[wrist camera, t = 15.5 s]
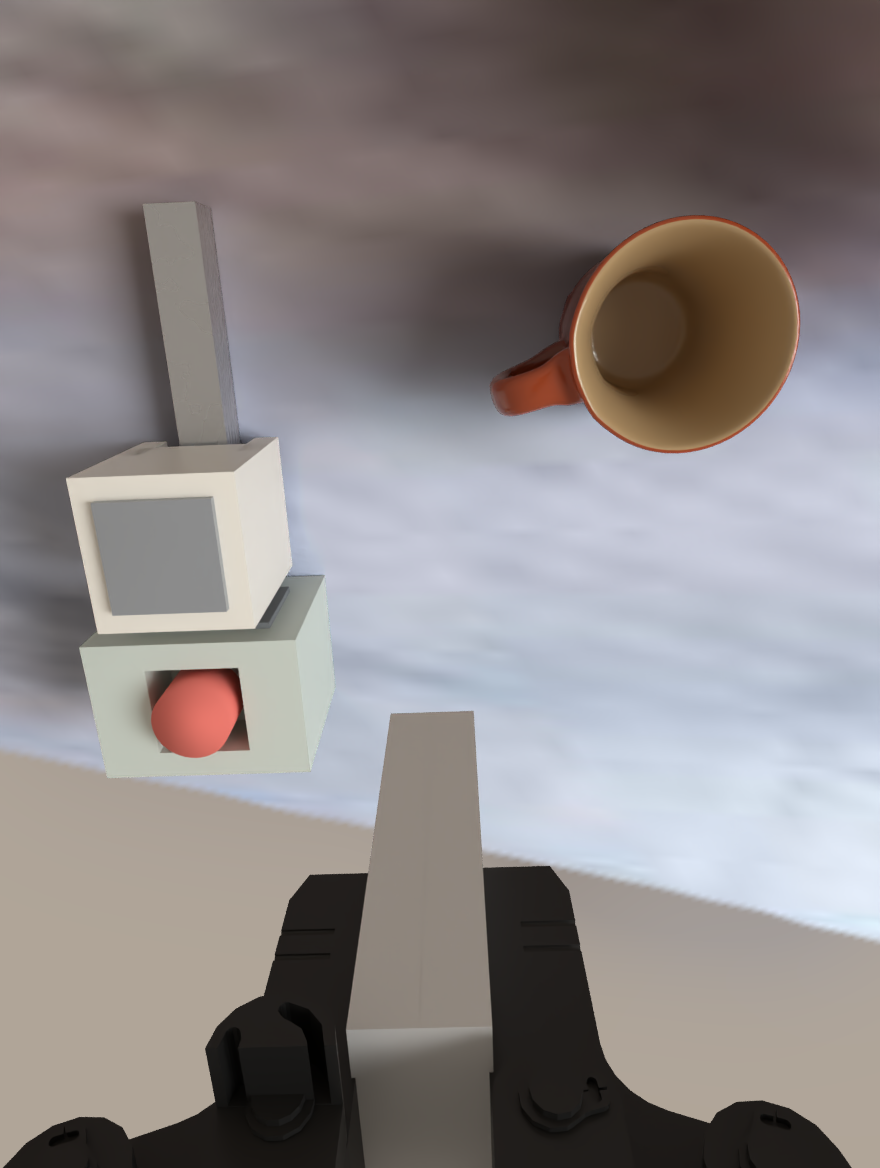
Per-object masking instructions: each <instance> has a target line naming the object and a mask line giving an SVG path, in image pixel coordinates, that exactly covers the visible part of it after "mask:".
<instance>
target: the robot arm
mask: <svg viewBox="0 0 880 1168" xmlns="http://www.w3.org/2000/svg"><path fill="white" fill-rule="evenodd" d="M281 931H282V932H281V936H280V937H279V941H278V945H277V948H276V952H275V961H273V963H272V967H271V971H270V975H269V978H268V982H267V986H266V990H265V993H264V996H262V997H258V998H256V999H254V1000H252V1001H250V1002H248V1003H246V1004H244V1005H242V1006H240V1007H238V1008H236V1009H235V1010H234V1011H233V1012H232V1013H231V1014H230V1015H229V1016H228V1017H227V1018H226V1019H225V1020H223V1021H222V1022H221V1023H220V1024H219V1025H218V1026H217V1028H216V1029H215V1031H214V1033H213V1035H212V1037H211V1039H210V1041H209V1042H208V1044H207V1046H206V1048H205V1050H206V1055H207V1060H208V1066H209V1071H210V1076H211V1081H212V1086H213V1091H214V1096H215V1103H213V1104H212V1105H210V1106H209V1107H207V1108H206V1109H204V1110H203V1111H201V1112H200V1113H199V1114H197V1115H195V1116H193V1117H190V1118H188V1119H186V1120H184V1121H181V1122H179V1123H177V1124H174V1125H171V1126H168V1127H165V1128H162V1129H159V1130H156V1131H153V1132H150V1133H147V1134H144V1135H141V1136H138V1137H135V1138H132V1139H128V1137H127V1135H126V1133H125V1131H124V1130H123V1128H122V1127H121V1126H119V1125H117V1124H115V1123H113V1122H111V1121H110V1120H108V1119H106V1118H101V1117H78V1118H75V1119H73V1120H69V1121H66V1122H63V1123H60V1124H57V1125H54V1126H52V1127H50V1128H49V1129H47V1130H46V1131H44V1132H43V1133H42V1134H40V1135H38V1136H37V1137H35V1138H34V1139H32V1140H30V1141H29V1142H27V1143H26V1144H25V1145H24V1146H23V1147H22V1148H21V1149H20V1150H19V1151H18V1152H17V1154H16V1155H15V1156H14V1157H13V1158H12V1159H11V1160H10V1161H9V1162H8V1163H7V1164H6V1165H5V1166H4V1167H3V1168H851V1166H850V1165H849V1163H848V1162H847V1161H846V1159H845V1158H844V1156H843V1155H842V1154H841V1152H840V1151H839V1149H838V1148H837V1147H836V1146H835V1145H834V1144H833V1143H832V1142H831V1141H830V1140H829V1138H828V1137H827V1136H826V1135H825V1134H824V1133H823V1132H822V1131H821V1130H820V1129H819V1128H818V1127H817V1126H816V1125H815V1124H813V1123H812V1122H810V1121H809V1120H807V1119H805V1118H804V1117H802V1116H801V1115H799V1114H798V1113H796V1112H794V1111H793V1110H791V1109H789V1108H786V1107H782V1106H779V1105H775V1104H772V1103H769V1102H765V1101H747V1102H746V1101H745V1102H736V1103H734V1104H732V1105H730V1106H728V1107H727V1108H725V1109H723V1110H721V1111H719V1112H717V1113H716V1115H715V1117H714V1118H713V1120H712V1121H711V1123H707V1122H704V1121H700V1120H697V1119H694V1118H691V1117H687V1116H684V1115H681V1114H677V1113H674V1112H671V1111H668V1110H665V1109H663V1108H660V1107H658V1106H656V1105H653V1104H651V1103H648V1102H647V1101H645V1100H644V1099H642V1098H641V1097H639V1096H638V1095H636V1094H634V1093H633V1092H632V1091H630V1090H629V1089H628V1088H627V1087H626V1086H625V1085H624V1084H623V1083H622V1082H621V1081H620V1080H619V1079H618V1078H617V1077H616V1075H615V1074H614V1072H613V1071H612V1069H611V1067H610V1066H609V1064H608V1063H607V1061H606V1059H605V1057H604V1054H603V1051H602V1048H601V1045H600V1041H599V1036H598V1031H597V1026H596V1021H595V1017H594V1011H593V1007H592V1001H591V996H590V991H589V987H588V982H587V977H586V972H585V968H584V962H583V957H582V952H581V951H580V942H579V937H578V933H577V928H576V926H575V918H574V913H573V908H572V903H571V898H570V893H569V890H568V889H567V887H566V886H565V885H564V884H563V882H562V881H561V880H560V879H559V877H558V876H557V875H556V873H555V872H554V871H553V870H552V868H551V867H550V866H532V867H496V868H483V864H482V846H481V829H480V812H479V796H478V779H477V762H476V745H475V728H474V711H460V712H428V713H397V714H391V716H390V723H389V730H388V737H387V744H386V751H385V758H384V765H383V772H382V779H381V786H380V793H379V801H378V808H377V815H376V822H375V829H374V836H373V843H372V850H371V858H370V864H369V871H368V873H360V874H324V875H323V874H322V875H309V877H308V878H307V879H306V880H305V882H304V883H303V884H302V885H301V887H300V888H299V889H298V890H297V892H296V893H295V894H294V895H293V897H292V898H291V899H290V900H289V904H288V907H287V911H286V915H285V918H284V922H283V926H282V930H281Z"/></svg>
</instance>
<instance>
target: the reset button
mask: <svg viewBox="0 0 880 1168" xmlns="http://www.w3.org/2000/svg"><path fill="white" fill-rule="evenodd" d="M243 707H244V705H243V698H242V691H241V684H240V678H239V677H238V675H237V674H236V673H235V672H234V671H233V670H232V669H230V668H220V669H190V670H180V671H179V673H178V674H177V675H176V677H175V678H174V679H173V681H172V682H171V683H170V685H169V686H168V688H167V689H166V690H165V692H164V693H163V694H162V696H161V697H160V699H159V700H158V701H157V703H156V704H155V706H154V708H153V711H152V715H151V724H152V729H153V731H154V734H155V736H156V737H157V739H158V740H159V742H160V743H161V744H162V745H163V746H164V747H166V748H167V749H168V750H170V751H171V752H173V753H175V754H177V755H180V756H184V757H189V758H201V757H206V756H209V755H211V754H213V753H215V752H217V751H218V750H219V749H220V748H221V747H222V746H223V745H224V744H225V742H226V740H227V739H228V737H229V735H230V733H231V731H232V729H233V727H234V725H235V723H236V721H237V719H238V717H239V715H240V713H241V711H242V709H243Z"/></svg>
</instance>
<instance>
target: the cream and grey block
mask: <svg viewBox="0 0 880 1168" xmlns="http://www.w3.org/2000/svg"><path fill="white" fill-rule="evenodd" d="M66 482H67V486H68V491H69V496H70V501H71V506H72V511H73V516H74V520H75V525H76V530H77V535H78V540H79V545H80V550H81V554H82V559H83V564H84V569H85V574H86V579H87V584H88V588H89V593H90V598H91V603H92V608H93V613H94V618H95V622H96V627H97V632H98V634H117V633H146V632H174V631H203V630H232V629H255V628H256V626H257V624H258V623H259V621H260V619H261V618H262V616H263V614H264V613H265V611H266V609H267V607H268V606H269V604H270V602H271V601H272V599H273V597H274V596H275V594H276V592H277V591H278V589H279V587H280V586H281V584H282V582H283V580H284V579H285V577H286V575H287V574H288V572H289V570H290V569H291V567H292V558H291V549H290V540H289V531H288V522H287V513H286V504H285V495H284V486H283V477H282V468H281V459H280V450H279V441H278V437H262V438H254V439H253V440H251V441H250V442H248V443H247V444H228V445H204V446H179V447H168V446H167V441H165V442H143V443H141V444H139V445H137V446H135V447H133V448H130V449H128V450H126V451H124V452H122V453H120V454H117V455H115V456H113V457H111V458H109V459H107V460H104V461H102V462H100V463H98V464H96V465H94V466H92V467H89V468H87V469H85V470H83V471H81V472H79V473H76V474H74V475H72V476H70V477H68V478H66Z"/></svg>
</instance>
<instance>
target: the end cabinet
mask: <svg viewBox="0 0 880 1168" xmlns="http://www.w3.org/2000/svg"><path fill="white" fill-rule="evenodd" d="M79 649H80V654H81V659H82V663H83V668H84V672H85V677H86V682H87V686H88V691H89V696H90V700H91V705H92V709H93V714H94V719H95V723H96V728H97V733H98V737H99V742H100V746H101V751H102V756H103V760H104V765H105V770H106V774H107V778H124V777H157V776H190V775H223V774H256V773H289V772H311V768H312V765H313V761H314V758H315V755H316V751H317V748H318V744H319V741H320V738H321V734H322V731H323V727H324V724H325V721H326V717H327V714H328V711H329V707H330V704H331V700H332V697H333V694H334V690H335V687H336V686H335V676H334V665H333V655H332V645H331V635H330V624H329V614H328V604H327V593H326V583H325V575H322V576H295V577H285V579H284V580H283V582H282V584H281V586H280V587H279V589H278V591H277V592H276V594H275V596H274V597H273V599H272V601H271V602H270V604H269V606H268V607H267V609H266V611H265V613H264V614H263V616H262V618H261V619H260V621H259V623H258V624H257V626H256V628H255V629H232V630H203V631H174V632H146V633H117V634H98V632H97V631H96V632H95V633H94V634H93V635H92V636H91V637H90V638H89V639H88V640H87V641H86V642H85V643H83V644H82V645H81V646H80V647H79ZM220 668H230V669H232V670H233V671H234V672H235V673H236V674H237V675H238V677H239V678H240V684H241V691H242V698H243V705H244V707H243V709H242V711H241V713H240V715H239V717H238V719H237V721H236V723H235V725H234V727H233V729H232V731H231V733H230V735H229V737H228V739H227V740H226V742H225V744H224V745H223V746H222V747H221V748H220V749H219V750H218V751H217V752H215V753H213V754H211V755H209V756H206V757H201V758H189V757H184V756H180V755H177V754H175V753H173V752H171V751H170V750H168V749H167V748H166V747H164V746H163V745H162V744H161V743H160V742H159V740H158V739H157V737H156V736H155V734H154V731H153V729H152V724H151V715H152V711H153V708H154V706H155V704H156V703H157V701H158V700H159V699H160V697H161V696H162V694H163V693H164V692H165V690H166V689H167V688H168V686H169V685H170V683H171V682H172V681H173V679H174V678H175V677H176V675H177V674H178V673H179V671H180V670H190V669H220Z"/></svg>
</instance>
